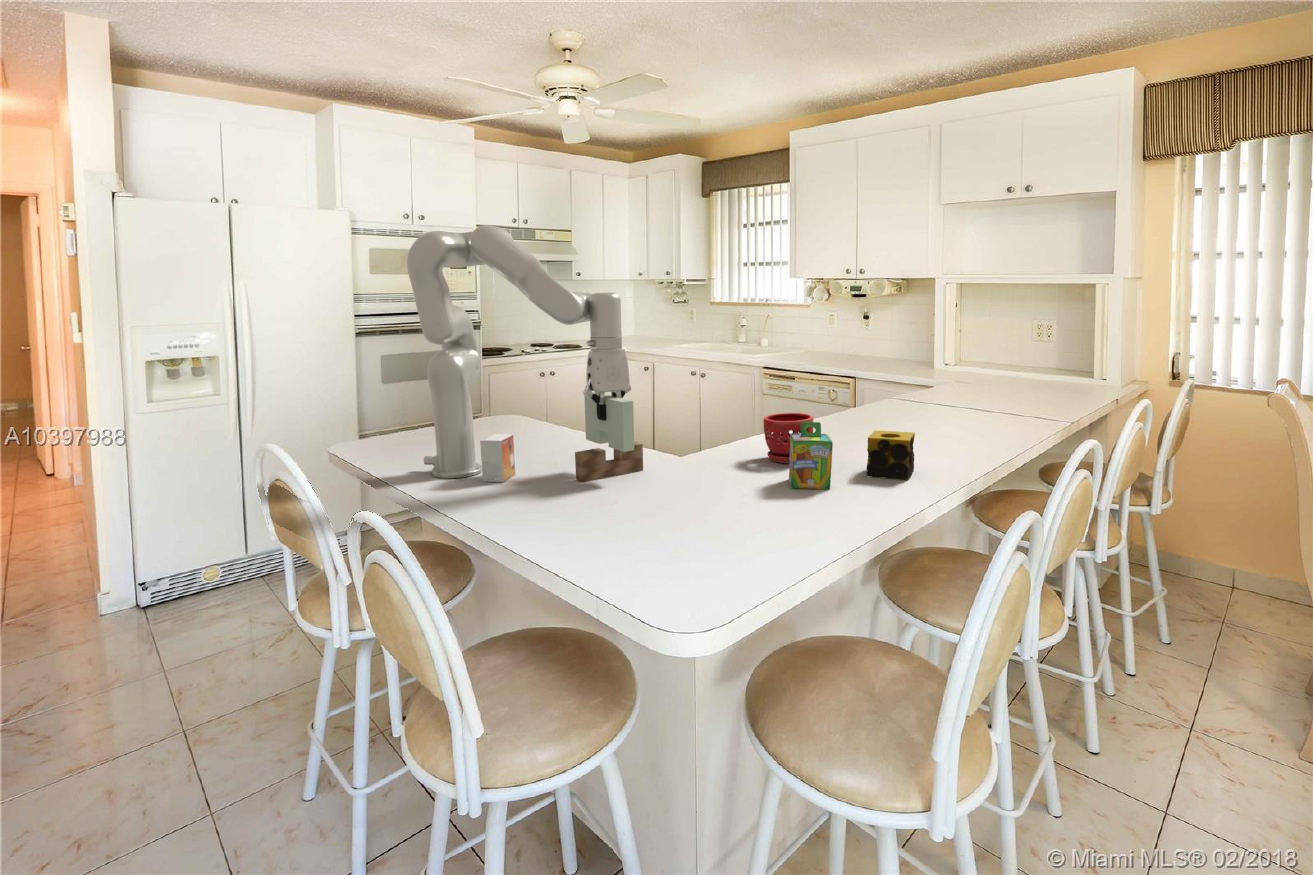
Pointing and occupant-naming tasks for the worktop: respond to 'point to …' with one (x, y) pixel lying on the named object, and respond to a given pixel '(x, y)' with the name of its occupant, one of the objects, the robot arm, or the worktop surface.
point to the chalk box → (810, 458)
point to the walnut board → (607, 463)
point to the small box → (497, 458)
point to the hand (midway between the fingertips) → (608, 418)
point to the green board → (611, 423)
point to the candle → (890, 454)
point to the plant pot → (783, 433)
